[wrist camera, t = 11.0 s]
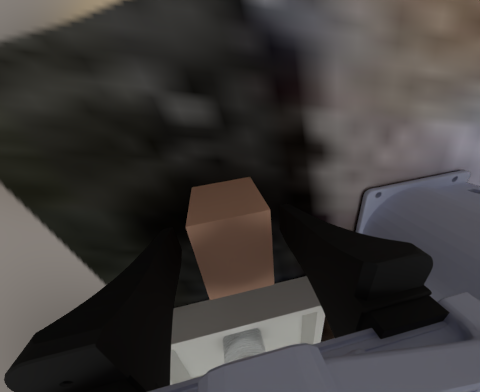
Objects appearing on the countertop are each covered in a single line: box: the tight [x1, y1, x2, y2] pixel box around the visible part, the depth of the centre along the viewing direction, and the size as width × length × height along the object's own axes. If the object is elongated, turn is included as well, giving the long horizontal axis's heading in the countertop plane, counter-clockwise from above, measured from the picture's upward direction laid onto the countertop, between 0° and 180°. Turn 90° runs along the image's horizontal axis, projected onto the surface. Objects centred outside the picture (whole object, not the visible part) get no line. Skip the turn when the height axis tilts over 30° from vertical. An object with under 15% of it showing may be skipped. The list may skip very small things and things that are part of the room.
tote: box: [170, 276, 325, 385], centre depth 20 cm, size 16×14×3 cm
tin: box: [223, 328, 266, 364], centre depth 18 cm, size 4×4×6 cm
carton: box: [186, 177, 274, 300], centre depth 12 cm, size 4×6×4 cm
